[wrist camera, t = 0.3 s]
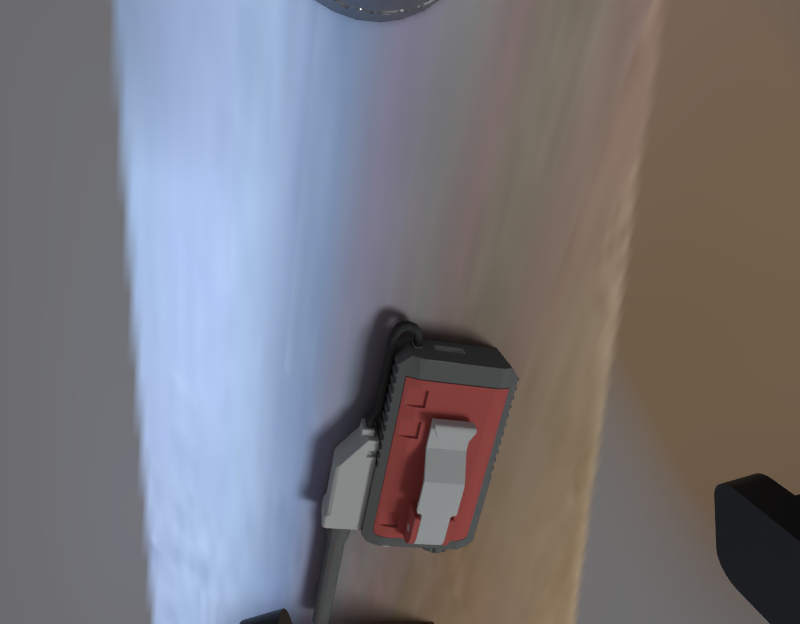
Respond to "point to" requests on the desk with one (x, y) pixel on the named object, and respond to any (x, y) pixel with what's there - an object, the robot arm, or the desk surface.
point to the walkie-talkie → (418, 452)
